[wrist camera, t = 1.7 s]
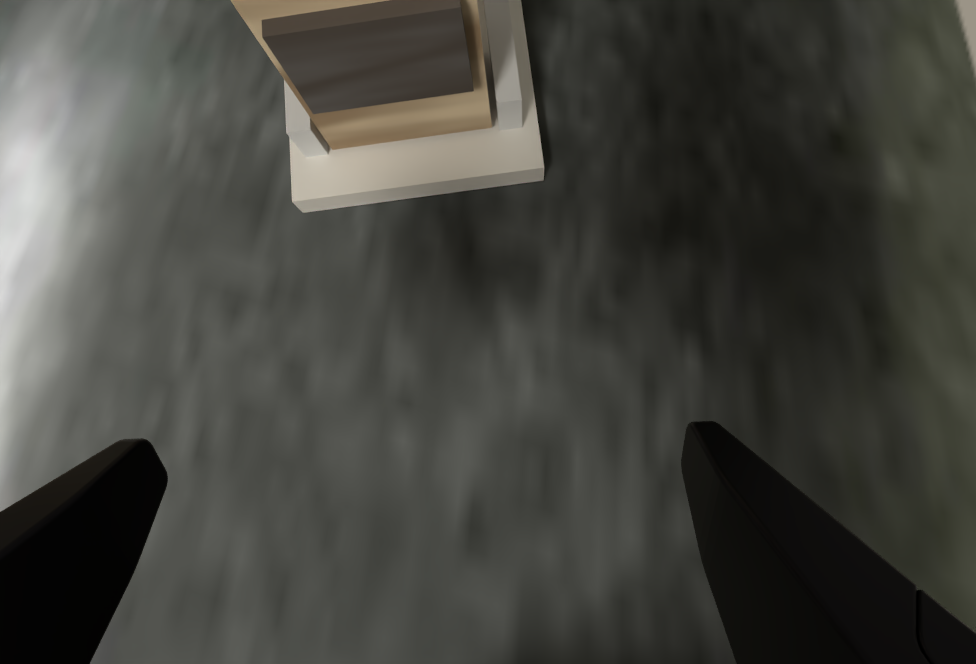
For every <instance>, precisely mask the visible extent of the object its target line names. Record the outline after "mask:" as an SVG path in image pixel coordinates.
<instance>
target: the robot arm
mask: <svg viewBox="0 0 976 664" xmlns="http://www.w3.org/2000/svg"><path fill="white" fill-rule="evenodd" d="M681 466H682V474H683V479H684V483H685V488H686V492H687V497H688V501H689V506H690V510H691V515H692V519H693V524H694V529H695V533H696V538H697V542H698V547H699V551H700V555H701V559H702V563H703V566H704V569H705V573H706V576H707V579H708V582H709V585H710V588H711V590H712V593H713V596H714V599H715V602H716V605H717V608H718V611H719V614H720V617H721V619H722V622H723V625H724V628H725V631H726V634H727V637H728V640H729V643H730V646H731V648H732V651H733V654H734V657H735V660H736V663H737V664H976V633H975V632H974V631H973V630H972V629H970V628H969V627H968V626H966V625H965V624H964V623H963V622H961V621H960V620H959V619H958V618H956V617H955V616H954V615H952V614H951V613H950V612H949V611H948V610H946V609H945V608H944V607H943V606H941V605H940V604H939V603H938V602H937V601H935V600H934V599H933V598H932V597H930V596H929V595H928V594H927V593H925V592H924V591H923V590H917V587H916V585H915V584H914V583H913V582H912V581H910V580H909V579H908V578H907V577H906V576H904V575H903V574H902V573H901V572H899V571H898V570H897V569H896V568H895V567H893V566H892V565H891V564H890V563H888V562H887V561H886V560H885V559H884V558H882V557H881V556H880V555H879V554H877V553H876V552H875V551H874V550H873V549H871V548H870V547H869V546H868V545H866V544H865V543H864V542H863V541H862V540H860V539H859V538H858V537H857V536H855V535H854V534H853V533H852V532H851V531H849V530H848V529H847V528H846V527H844V526H843V525H842V524H841V523H839V522H838V521H837V520H836V519H835V518H833V517H832V516H831V515H830V514H828V513H827V512H826V511H825V510H824V509H822V508H821V507H820V506H819V505H817V504H816V503H815V502H814V501H813V500H811V499H810V498H809V497H808V496H806V495H805V494H804V493H803V492H802V491H800V490H799V489H798V488H797V487H795V486H794V485H793V484H792V483H791V482H789V481H788V480H787V479H786V478H784V477H783V476H782V475H781V474H780V473H778V472H777V471H776V470H775V469H773V468H772V467H771V466H770V465H769V464H767V463H766V462H765V461H764V460H762V459H761V458H760V457H759V456H757V455H756V454H755V453H754V452H753V451H751V450H750V449H749V448H748V447H746V446H745V445H744V444H743V443H742V442H740V441H739V440H738V439H737V438H735V437H734V436H733V435H732V434H731V433H729V432H728V431H727V430H726V429H724V428H723V427H722V426H721V425H720V424H718V423H716V422H713V421H701V422H691V423H689V424H688V426H687V429H686V434H685V440H684V446H683V452H682V459H681ZM167 481H168V476H167V472H166V469H165V467H164V466H163V464H162V462H161V460H160V458H159V456H158V455H157V453H156V451H155V449H154V447H153V445H152V444H151V443H150V442H149V441H148V440H146V439H123V440H119V441H117V442H115V443H114V444H112V445H110V446H109V447H107V448H106V449H104V450H102V451H101V452H99V453H97V454H96V455H94V456H92V457H91V458H89V459H87V460H86V461H84V462H82V463H81V464H79V465H77V466H76V467H74V468H72V469H71V470H69V471H67V472H66V473H64V474H62V475H61V476H59V477H57V478H56V479H54V480H53V481H51V482H49V483H48V484H46V485H44V486H43V487H41V488H39V489H38V490H36V491H34V492H33V493H31V494H29V495H28V496H26V497H24V498H23V499H21V500H19V501H18V502H16V503H14V504H13V505H11V506H9V507H8V508H6V509H5V510H3V511H1V512H0V664H90V662H91V660H92V658H93V656H94V654H95V652H96V650H97V648H98V646H99V643H100V641H101V639H102V637H103V635H104V633H105V631H106V629H107V627H108V625H109V623H110V621H111V619H112V617H113V615H114V613H115V611H116V609H117V607H118V605H119V603H120V601H121V598H122V596H123V594H124V592H125V590H126V588H127V586H128V584H129V582H130V580H131V578H132V575H133V573H134V571H135V569H136V566H137V564H138V561H139V559H140V556H141V554H142V551H143V548H144V546H145V543H146V540H147V538H148V535H149V532H150V530H151V527H152V524H153V522H154V519H155V516H156V514H157V511H158V508H159V506H160V503H161V500H162V498H163V495H164V492H165V489H166V487H167Z"/></svg>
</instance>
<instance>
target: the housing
mask: <svg viewBox="0 0 976 664" xmlns="http://www.w3.org/2000/svg"><path fill="white" fill-rule="evenodd" d="M477 5H478V13H479V22H480V30H481V39H482V47H483V56H484V64H485V73H486V81H487V89H488V98H489V106H490V115H491V123H492V128H486V129H479V130H472V131H465V132H458V133H450V134H443V135H436V136H429V137H422V138H415V139H408V140H400V141H393V142H386V143H379V144H372V145H365V146H357V147H350V148H343V149H336V150H332V149H331V147H330V146H329V144H328V143H327V141H326V140H325V139H324V137H323V136H322V134H321V133H320V131H319V130H318V128H317V127H316V125H315V124H314V122H313V121H312V119H311V118H310V116H309V115H308V114H307V112H306V111H305V109H304V108H303V106H302V105H301V103H300V102H299V100H298V99H297V97H296V96H295V94H294V93H293V91H292V90H291V89H290V87H289V86H288V84H287V83H286V81H285V80H284V86H285V111H286V133H287V134H288V136H289V137H290V161H291V186H292V202H293V203H294V204H295V205H296V206H297V207H298V208H299V209H300V210H301V211H302V212H303V213H305V212H313V211H320V210H328V209H335V208H343V207H350V206H357V205H365V204H372V203H380V202H387V201H395V200H402V199H410V198H417V197H424V196H432V195H439V194H447V193H454V192H462V191H469V190H477V189H484V188H491V187H499V186H506V185H514V184H521V183H529V182H536V181H544V161H543V154H542V147H541V140H540V133H539V126H538V119H537V111H536V104H535V97H534V90H533V83H532V76H531V69H530V61H529V54H528V47H527V40H526V33H525V26H524V19H523V11H522V4H521V0H477Z"/></svg>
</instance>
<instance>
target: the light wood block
mask: <svg viewBox="0 0 976 664" xmlns="http://www.w3.org/2000/svg"><path fill="white" fill-rule="evenodd" d="M231 2H232V3H233V5H234V6H235V8H236V9H237V11H238V12H239V13H240V15H241V16H242V18H243V19H244V21H245V22H246V24H247V25H248V27H249V28H250V30H251V31H252V33H253V34H254V36H255V37H256V38H257V40H258V41H259V43H260V44H261V46H262V47H263V49H264V50H265V52H266V53H267V55H268V56H269V58H270V59H271V61H272V62H273V64H274V65H275V66H276V68H277V69H278V71H279V72H280V74H281V75H282V77H283V78H284V80H285V81H286V83H287V84H288V86H289V87H290V89H291V90H292V91H293V93H294V94H295V96H296V97H297V99H298V100H299V102H300V103H301V105H302V106H303V108H304V109H305V111H306V112H307V114H308V115H309V116H310V118H311V119H312V121H313V122H314V124H315V125H316V127H317V128H318V130H319V131H320V133H321V134H322V136H323V137H324V139H325V140H326V141H327V143H328V144H329V146H330V147H331V149H332V150H336V149H343V148H350V147H357V146H365V145H372V144H379V143H386V142H393V141H400V140H408V139H415V138H422V137H429V136H436V135H443V134H450V133H458V132H465V131H472V130H479V129H486V128H492V123H491V115H490V106H489V98H488V89H487V81H486V73H485V64H484V56H483V47H482V39H481V30H480V22H479V13H478V5H477V0H231Z"/></svg>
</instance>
